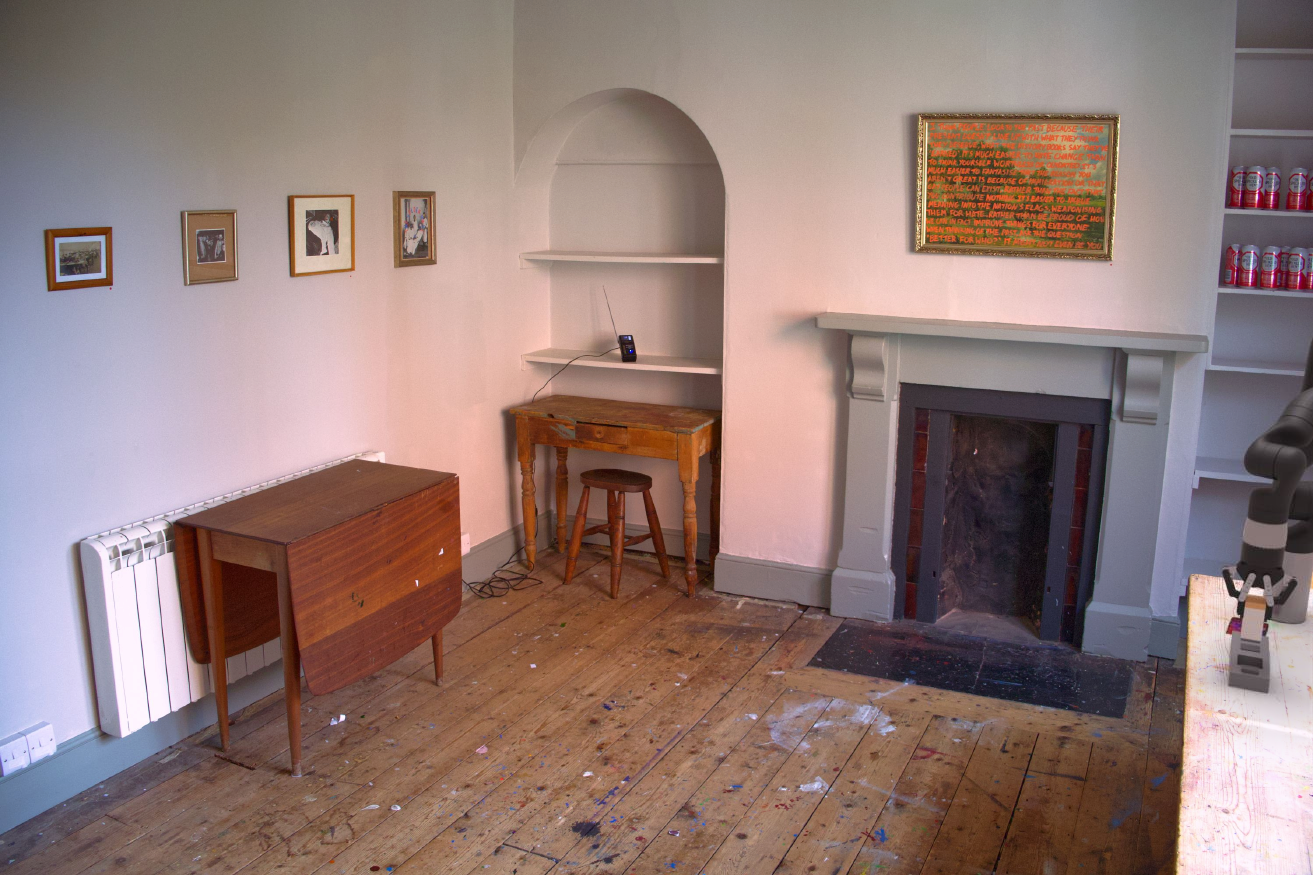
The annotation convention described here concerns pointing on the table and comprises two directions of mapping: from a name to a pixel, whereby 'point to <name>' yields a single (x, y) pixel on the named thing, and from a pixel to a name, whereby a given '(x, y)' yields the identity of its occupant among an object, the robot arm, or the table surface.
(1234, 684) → the power strip
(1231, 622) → the smartphone
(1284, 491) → the robot arm
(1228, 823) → the table surface
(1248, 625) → the orange-topped block
